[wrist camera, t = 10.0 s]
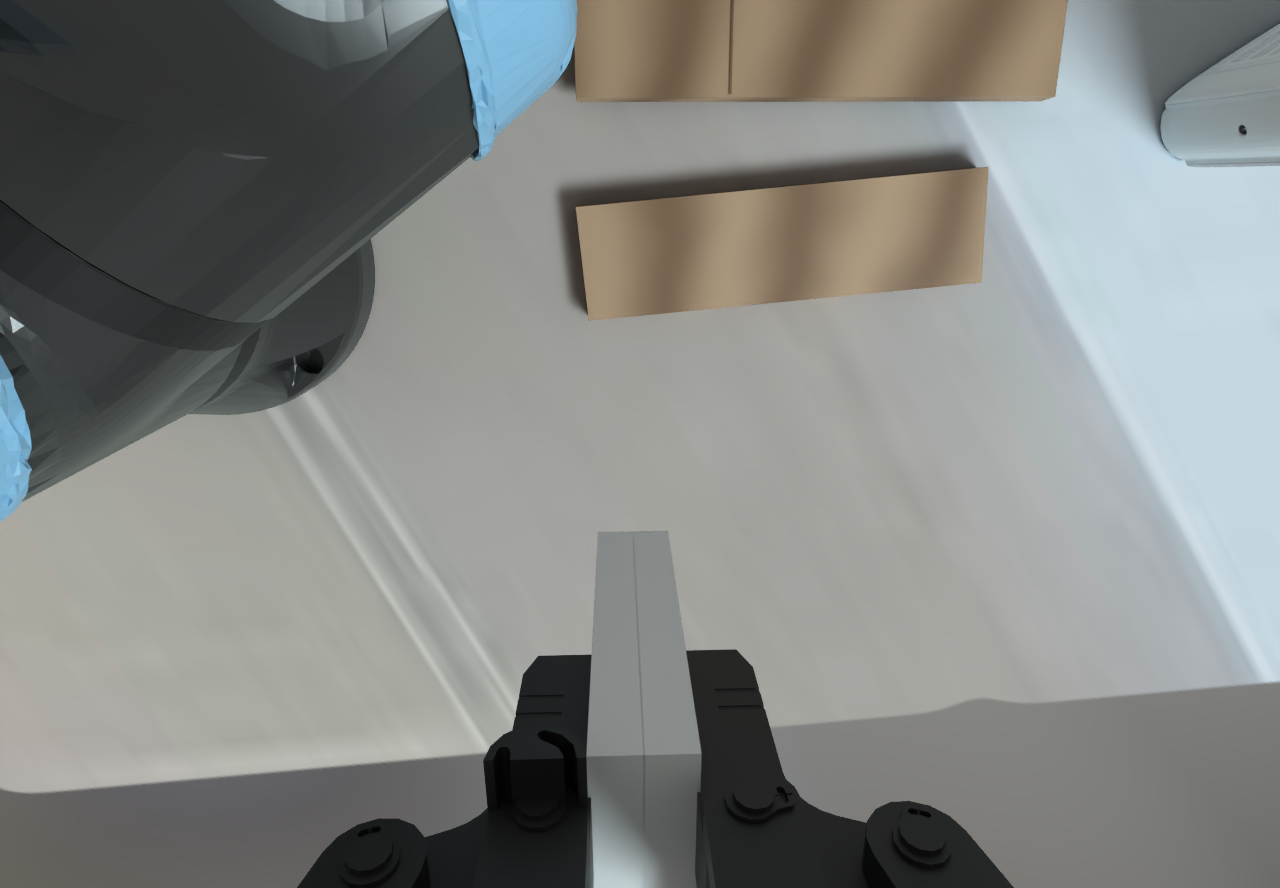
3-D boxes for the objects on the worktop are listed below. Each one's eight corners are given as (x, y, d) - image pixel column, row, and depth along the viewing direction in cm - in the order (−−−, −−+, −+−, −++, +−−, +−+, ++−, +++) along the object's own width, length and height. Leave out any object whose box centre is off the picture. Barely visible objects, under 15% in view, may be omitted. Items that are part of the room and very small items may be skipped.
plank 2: (589, 316, 38) (588, 320, 37) (576, 206, 37) (575, 207, 35) (970, 279, 38) (981, 282, 37) (976, 167, 37) (988, 166, 35)
